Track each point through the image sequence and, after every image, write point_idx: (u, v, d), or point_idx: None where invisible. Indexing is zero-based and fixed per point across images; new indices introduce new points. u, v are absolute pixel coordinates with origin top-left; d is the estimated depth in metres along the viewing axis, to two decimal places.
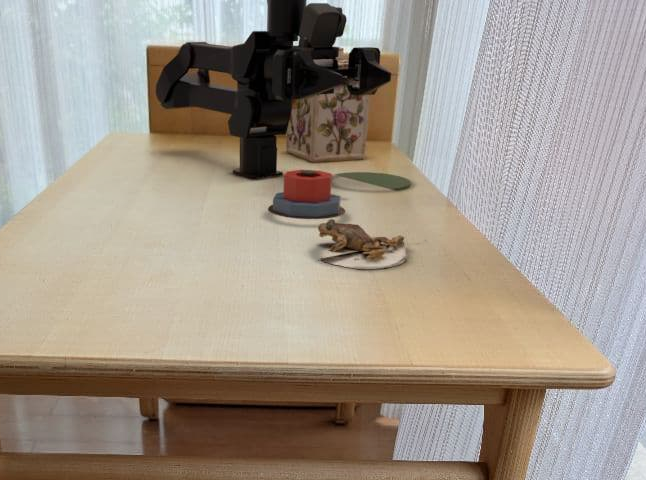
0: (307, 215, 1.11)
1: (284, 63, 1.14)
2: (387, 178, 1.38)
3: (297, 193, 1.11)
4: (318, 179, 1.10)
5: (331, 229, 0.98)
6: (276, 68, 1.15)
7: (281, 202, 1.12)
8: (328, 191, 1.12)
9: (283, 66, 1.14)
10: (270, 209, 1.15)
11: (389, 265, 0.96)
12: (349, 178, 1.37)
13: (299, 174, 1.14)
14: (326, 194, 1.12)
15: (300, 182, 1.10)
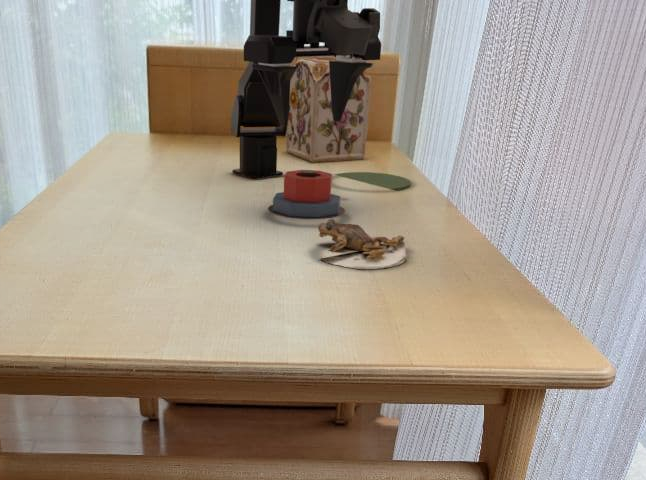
0: (307, 215, 1.11)
1: None
2: (387, 178, 1.38)
3: (297, 193, 1.11)
4: (318, 179, 1.10)
5: (331, 229, 0.98)
6: (259, 49, 0.99)
7: (281, 202, 1.12)
8: (328, 191, 1.12)
9: (262, 62, 1.00)
10: (270, 209, 1.15)
11: (389, 265, 0.96)
12: (349, 178, 1.37)
13: (299, 174, 1.14)
14: (326, 194, 1.12)
15: (300, 182, 1.10)
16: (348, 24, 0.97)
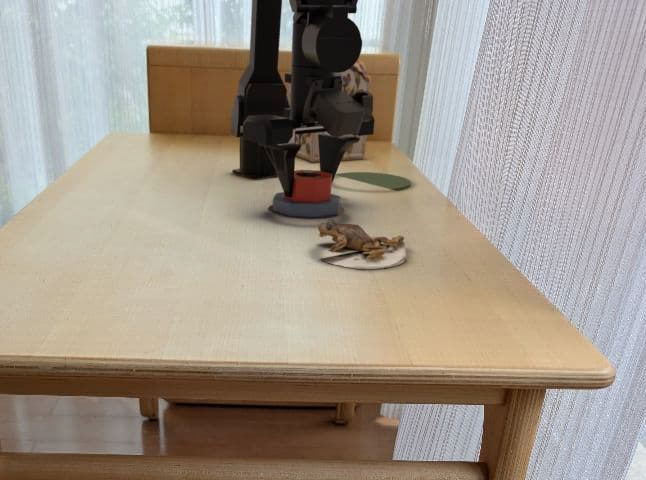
0: (307, 215, 1.11)
1: None
2: (387, 178, 1.38)
3: (297, 193, 1.11)
4: (318, 179, 1.10)
5: (331, 229, 0.98)
6: (258, 130, 1.04)
7: (281, 202, 1.12)
8: (328, 191, 1.12)
9: (261, 142, 1.05)
10: (270, 209, 1.15)
11: (389, 265, 0.96)
12: (349, 178, 1.37)
13: (299, 174, 1.14)
14: (326, 194, 1.12)
15: (300, 182, 1.10)
16: (342, 108, 1.02)
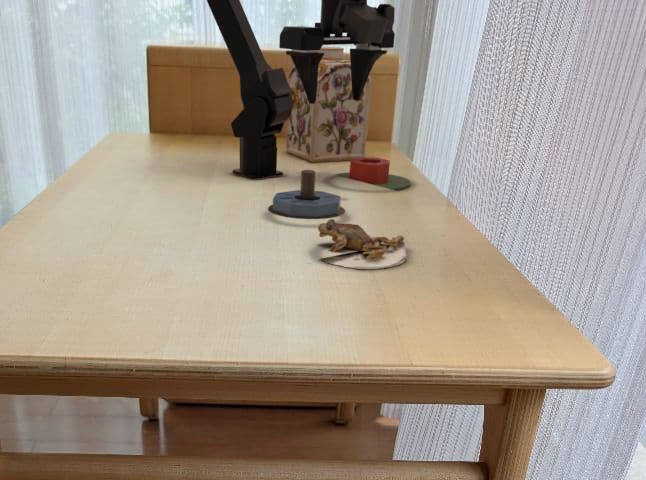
0: (307, 215, 1.11)
1: (298, 49, 1.19)
2: None
3: (361, 176, 1.33)
4: (379, 164, 1.32)
5: (331, 229, 0.98)
6: (293, 38, 1.18)
7: (281, 202, 1.12)
8: (387, 175, 1.34)
9: (296, 49, 1.19)
10: (270, 209, 1.15)
11: (389, 265, 0.96)
12: None
13: (362, 160, 1.36)
14: (385, 177, 1.34)
15: (364, 167, 1.32)
16: (368, 17, 1.17)
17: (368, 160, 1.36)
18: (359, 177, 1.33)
